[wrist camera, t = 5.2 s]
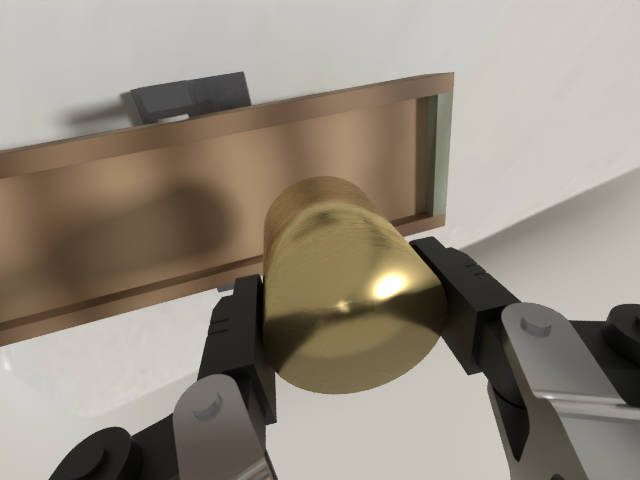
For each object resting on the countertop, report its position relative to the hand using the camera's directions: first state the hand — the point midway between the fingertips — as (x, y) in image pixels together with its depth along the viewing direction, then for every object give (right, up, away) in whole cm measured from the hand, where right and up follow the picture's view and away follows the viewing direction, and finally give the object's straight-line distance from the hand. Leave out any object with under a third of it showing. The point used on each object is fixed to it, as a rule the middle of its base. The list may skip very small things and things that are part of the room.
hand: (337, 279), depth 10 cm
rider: (-1, +2, +3) cm, 4 cm away
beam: (-8, +4, +10) cm, 13 cm away
